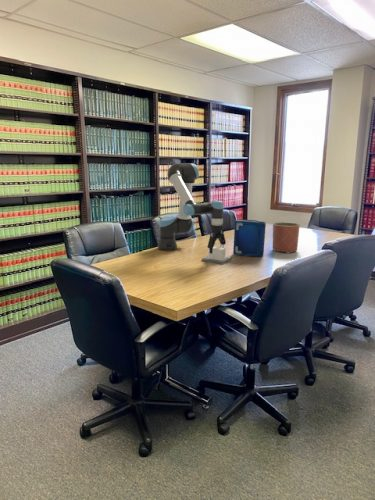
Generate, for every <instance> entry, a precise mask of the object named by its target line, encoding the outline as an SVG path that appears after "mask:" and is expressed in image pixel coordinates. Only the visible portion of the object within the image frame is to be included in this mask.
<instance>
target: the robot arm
mask: <svg viewBox="0 0 375 500" xmlns="http://www.w3.org/2000/svg"><path fill="white" fill-rule="evenodd" d="M166 173H167V179H168V181H169V183H170V184H171V185H172V186H173V188H174V189H175V191H176V193H177V195H178V197H179V203H178V206H179V207H178V214H176V218H175V217H173V216H172V217H164V218H162V219H160V220H159V225H158V226H159V239H158V240H159V241H158V243H157V249H158V250H159V251H174V250H177V249H178V244H177V241H176V236H175V235H180V234H189V233H191V232H192V231H193V229H194V225H195V223H194V219H193V218H192V216H198V215H199V216H200V215H201V216H202V215H211V217H210V218H211V220H210V221H211V223H210V224H211V225H210V226H211V231H212V232H210V233H209V239H208V243H207V249H208V250H209V249H210V258H214V248H213V247H215V244H216V241H217V240H218V241H219V247H220V248H225V245H226V238H225V233H224V230H223V229H224V225H223V224H224V202H223V201H222V200H212V201H211V202H209V201H208V202H201V203H196V201H195V200H194V198H193V195H192V194H193V192H192V191H193V185H194V184H195V182H196V180H197V179H198V178H199V175H200V172H199V168H198V166H197V165H196V164H195V163H190V162H183V163H182V162H181V163H173V164H172V165H171V166H169V167H168V170H167V172H166Z"/></svg>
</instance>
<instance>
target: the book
mask: <svg viewBox="0 0 375 500" xmlns="http://www.w3.org/2000/svg"><path fill="white" fill-rule="evenodd" d="M266 227H267V225H266V222H265V221H259V220H254V219H235V220H234V229H233V231H234V234H233V251H232V254H233V255H236V256H240V257H241V256H242V257H261V258H262V257H263V256H264V253H265V252H264V251H265V242H266V241H265V237H266Z"/></svg>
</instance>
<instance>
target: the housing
mask: <svg viewBox="0 0 375 500" xmlns="http://www.w3.org/2000/svg"><path fill="white" fill-rule="evenodd" d="M213 248H214V258H211V259H217V260H223V259H225V257H226V247H224V248H220V246H214V247H213ZM208 256H209V258H210V249H209V248H208Z"/></svg>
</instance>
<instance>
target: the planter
mask: <svg viewBox="0 0 375 500" xmlns="http://www.w3.org/2000/svg"><path fill="white" fill-rule="evenodd" d="M299 235H300V223H297V222H289V221H282V222H281V221H279V222H273V223H272V251H277V252H283V253H286V254H290V253H294V252H296V251H297V250H298V244H299Z"/></svg>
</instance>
